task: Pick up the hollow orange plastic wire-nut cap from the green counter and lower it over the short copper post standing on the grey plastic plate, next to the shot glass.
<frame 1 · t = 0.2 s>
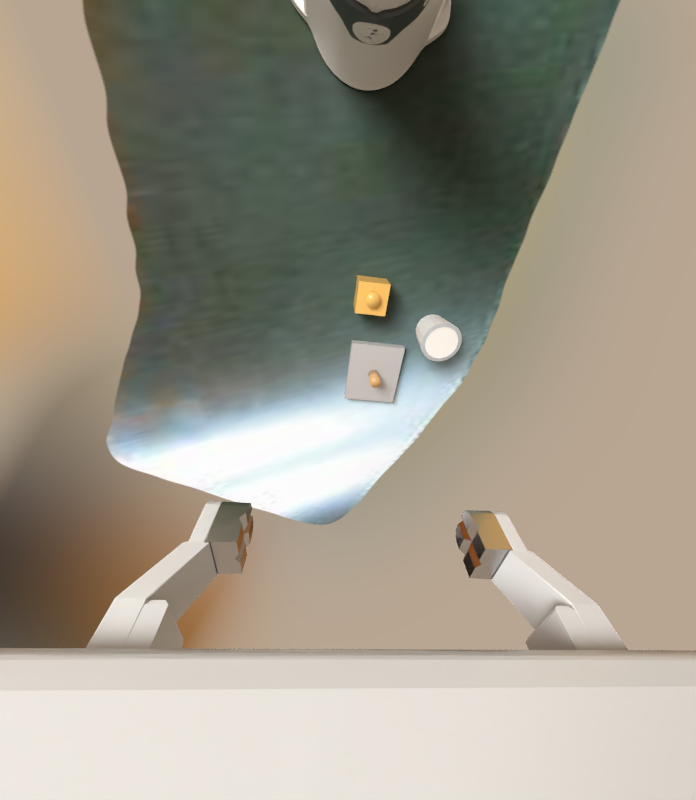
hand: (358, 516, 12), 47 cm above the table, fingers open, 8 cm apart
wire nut: (369, 292, 53), on the table
shot glass: (430, 329, 57), on the table
pigtail block: (372, 371, 61), on the table
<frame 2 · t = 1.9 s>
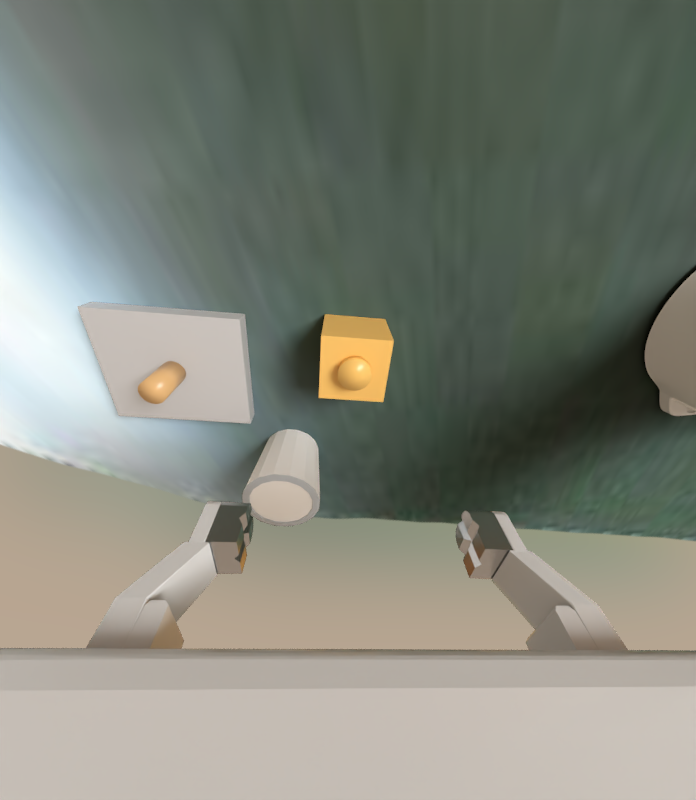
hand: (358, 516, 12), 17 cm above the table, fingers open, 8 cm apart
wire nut: (352, 345, 26), on the table
shot glass: (292, 448, 33), on the table
pigtail block: (181, 364, 27), on the table
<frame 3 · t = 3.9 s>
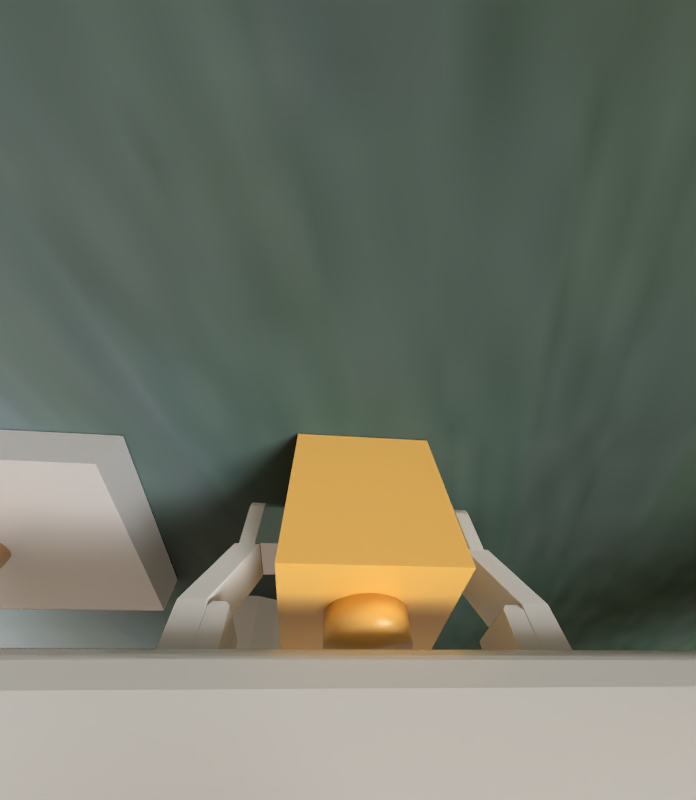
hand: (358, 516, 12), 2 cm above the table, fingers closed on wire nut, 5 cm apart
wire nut: (356, 483, 13), on the table, touching gripper
shot glass: (253, 614, 19), on the table
pigtail block: (15, 516, 14), on the table
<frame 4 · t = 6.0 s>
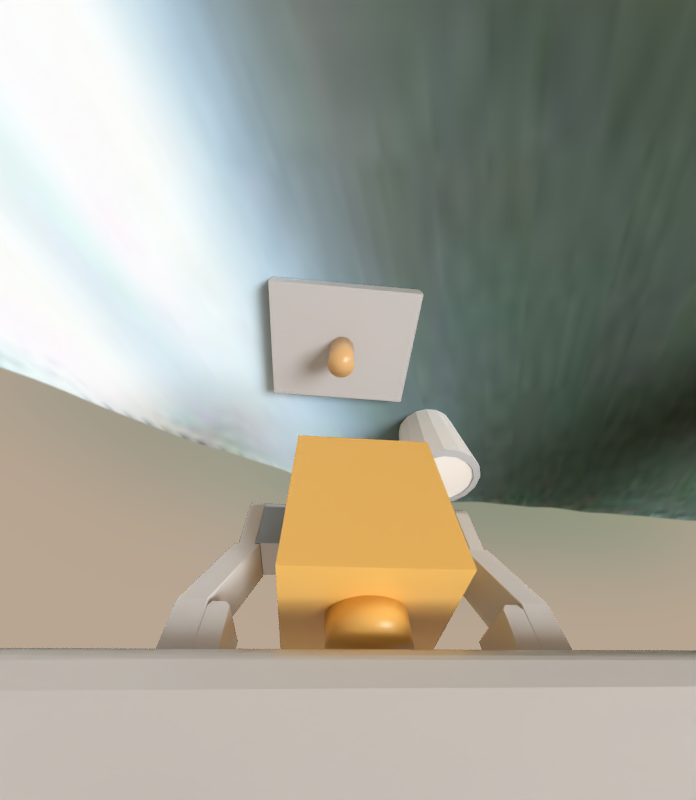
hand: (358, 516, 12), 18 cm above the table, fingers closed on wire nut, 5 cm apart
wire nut: (357, 484, 13), point 17 cm above the table, touching gripper
shot glass: (424, 429, 33), on the table
pigtail block: (342, 341, 27), on the table
when the fingers open (4 cm above the table, at t = 8.6 s): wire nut stays where it is, resting on pigtail block.
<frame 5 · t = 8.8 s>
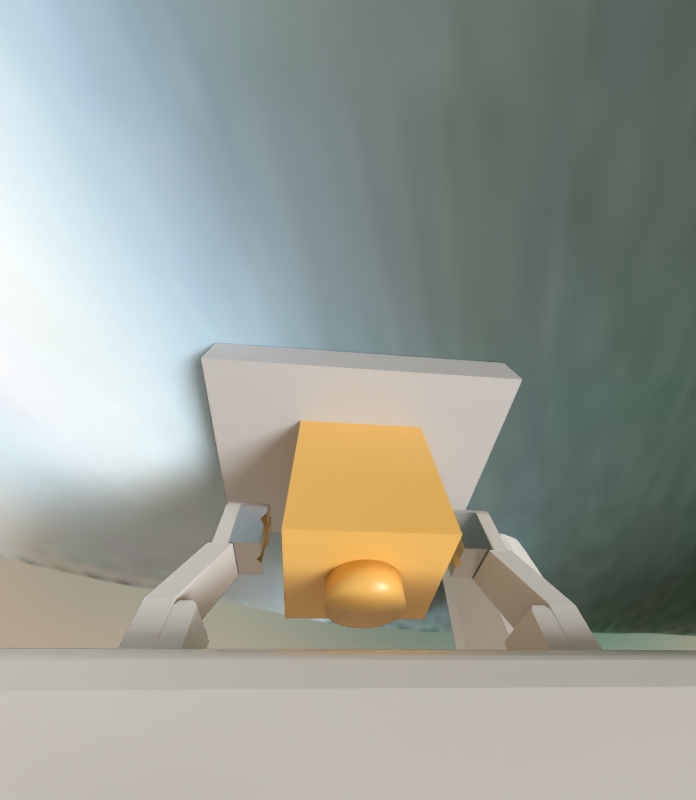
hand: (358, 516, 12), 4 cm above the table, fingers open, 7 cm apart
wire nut: (355, 468, 14), point 1 cm above the table, touching pigtail block
shot glass: (479, 556, 21), on the table
pigtail block: (352, 446, 15), on the table
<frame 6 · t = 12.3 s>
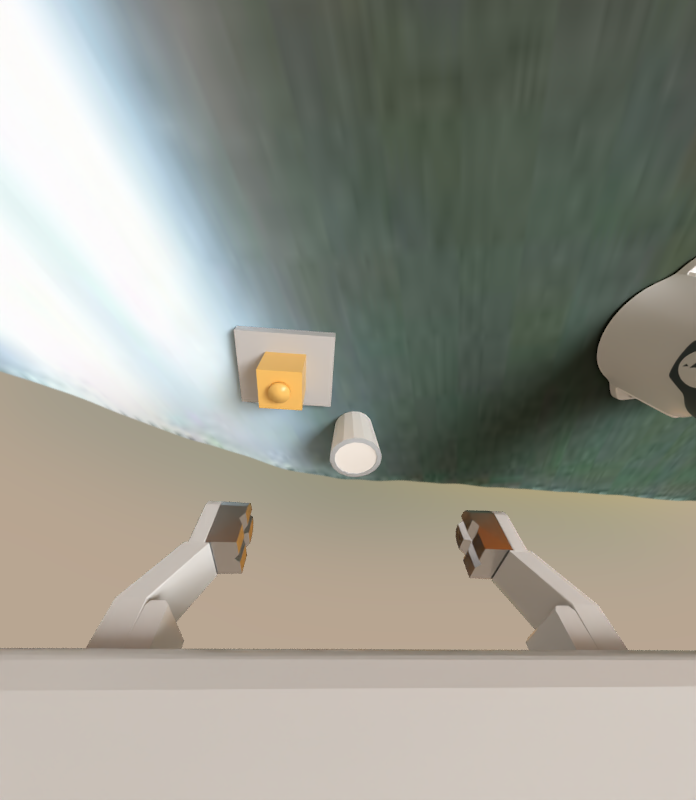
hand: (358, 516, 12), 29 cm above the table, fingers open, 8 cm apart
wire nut: (286, 371, 39), point 1 cm above the table, touching pigtail block
shot glass: (353, 426, 46), on the table
pigtail block: (287, 366, 40), on the table
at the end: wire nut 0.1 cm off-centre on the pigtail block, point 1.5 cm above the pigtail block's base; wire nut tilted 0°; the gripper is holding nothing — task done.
